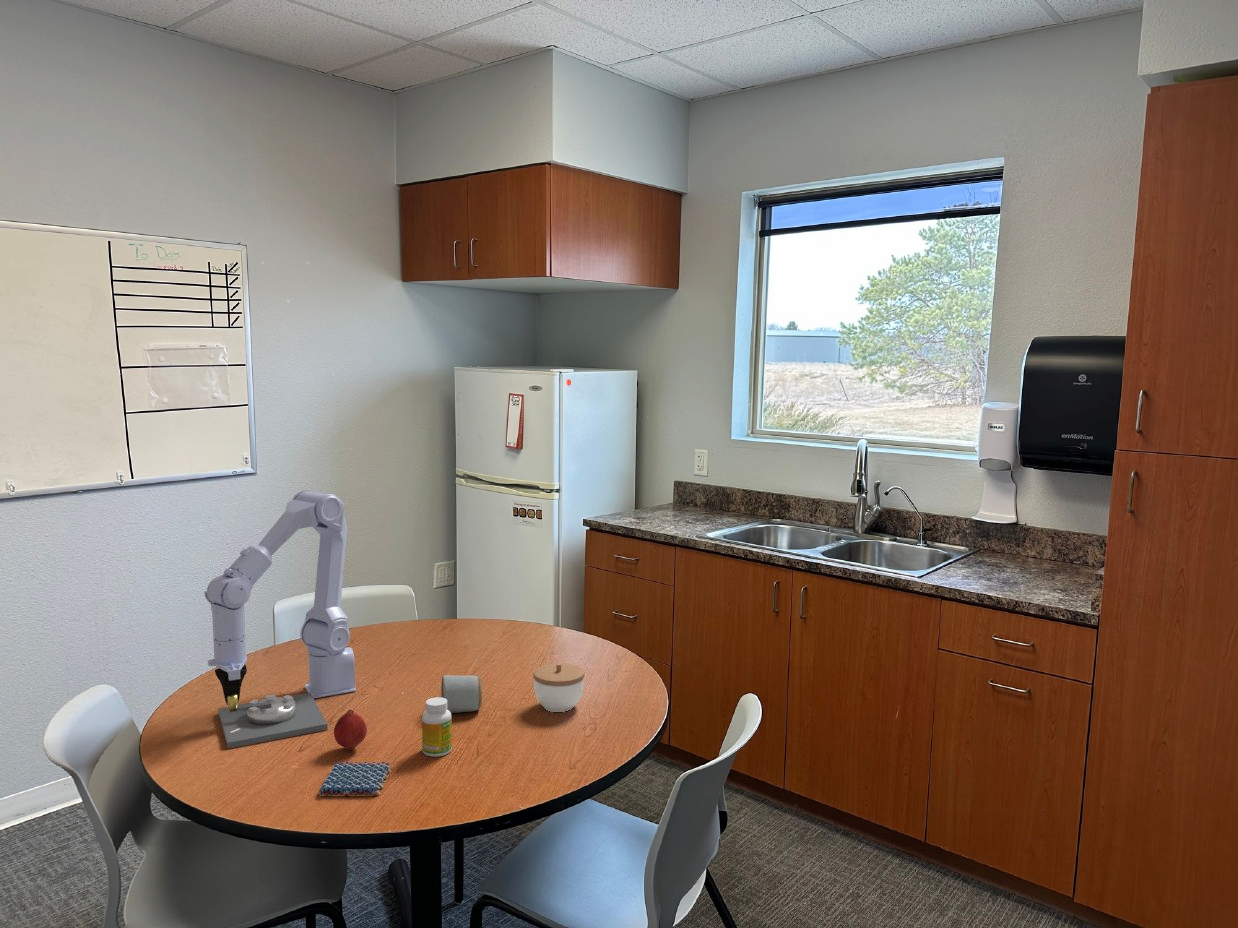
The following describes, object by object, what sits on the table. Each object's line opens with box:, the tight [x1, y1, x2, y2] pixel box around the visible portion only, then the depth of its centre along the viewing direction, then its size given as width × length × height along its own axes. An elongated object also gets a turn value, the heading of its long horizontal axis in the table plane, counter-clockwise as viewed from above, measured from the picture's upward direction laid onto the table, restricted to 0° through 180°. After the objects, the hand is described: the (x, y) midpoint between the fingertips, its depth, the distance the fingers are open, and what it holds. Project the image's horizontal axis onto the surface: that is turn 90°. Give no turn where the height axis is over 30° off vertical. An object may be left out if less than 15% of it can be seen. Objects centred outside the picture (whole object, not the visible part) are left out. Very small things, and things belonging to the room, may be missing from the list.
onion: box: [333, 708, 368, 751], centre depth 162 cm, size 6×6×8 cm
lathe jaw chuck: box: [227, 693, 296, 725], centre depth 173 cm, size 12×9×5 cm
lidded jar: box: [532, 662, 585, 713], centre depth 183 cm, size 11×11×9 cm
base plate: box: [217, 692, 329, 750], centre depth 174 cm, size 18×18×1 cm
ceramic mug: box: [440, 674, 483, 714], centre depth 182 cm, size 11×8×8 cm
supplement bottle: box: [421, 696, 453, 758], centre depth 162 cm, size 5×5×10 cm
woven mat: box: [317, 761, 392, 798], centre depth 150 cm, size 10×11×2 cm
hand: (232, 703), depth 172 cm, fingers closed, pressing on lathe jaw chuck
